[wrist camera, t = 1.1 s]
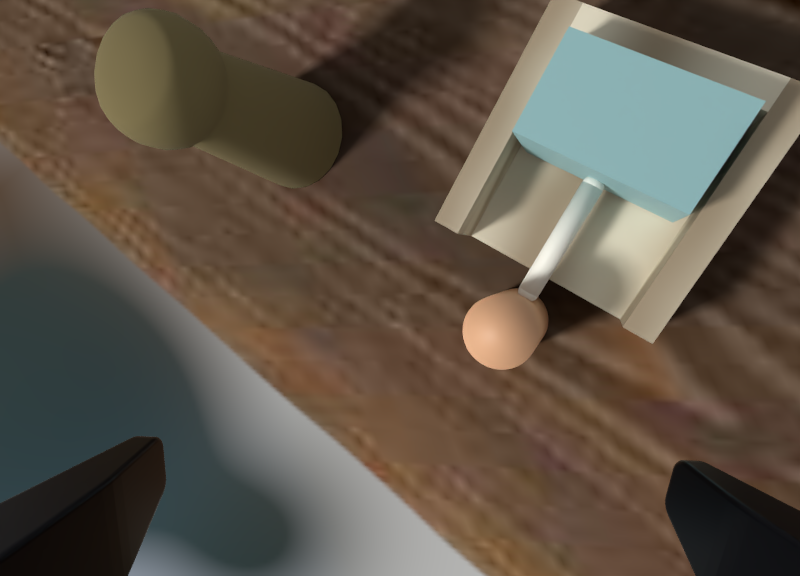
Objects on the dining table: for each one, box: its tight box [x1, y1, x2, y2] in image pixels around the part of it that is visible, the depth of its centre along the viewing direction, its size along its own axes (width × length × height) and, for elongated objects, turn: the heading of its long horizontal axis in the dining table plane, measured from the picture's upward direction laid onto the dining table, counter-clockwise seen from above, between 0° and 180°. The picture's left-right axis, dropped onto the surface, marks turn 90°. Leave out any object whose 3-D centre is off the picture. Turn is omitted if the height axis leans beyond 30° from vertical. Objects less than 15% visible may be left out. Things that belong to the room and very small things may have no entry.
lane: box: [435, 0, 800, 344], centre depth 20 cm, size 10×10×4 cm
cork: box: [94, 8, 342, 188], centre depth 23 cm, size 6×6×11 cm
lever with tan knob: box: [463, 26, 766, 370], centre depth 20 cm, size 7×12×5 cm, turn 151°
